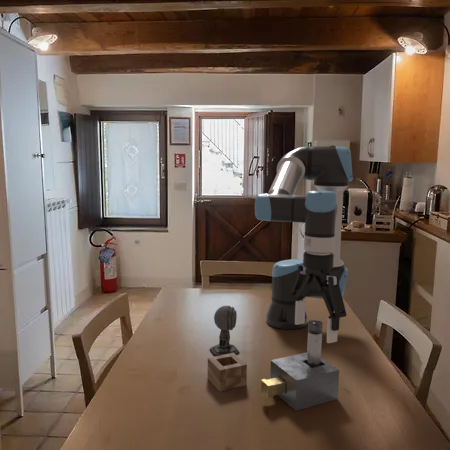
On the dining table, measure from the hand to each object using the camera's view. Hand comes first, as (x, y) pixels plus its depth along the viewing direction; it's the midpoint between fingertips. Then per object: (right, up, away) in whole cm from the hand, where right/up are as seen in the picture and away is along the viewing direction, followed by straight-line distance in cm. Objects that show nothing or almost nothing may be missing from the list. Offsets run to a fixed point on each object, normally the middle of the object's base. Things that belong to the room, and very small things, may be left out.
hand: (314, 332), depth 119 cm
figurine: (-23, -12, +26) cm, 37 cm away
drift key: (-9, -14, -2) cm, 17 cm away
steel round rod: (0, -15, +3) cm, 16 cm away
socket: (-3, -16, +1) cm, 17 cm away
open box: (-23, -15, +7) cm, 28 cm away
